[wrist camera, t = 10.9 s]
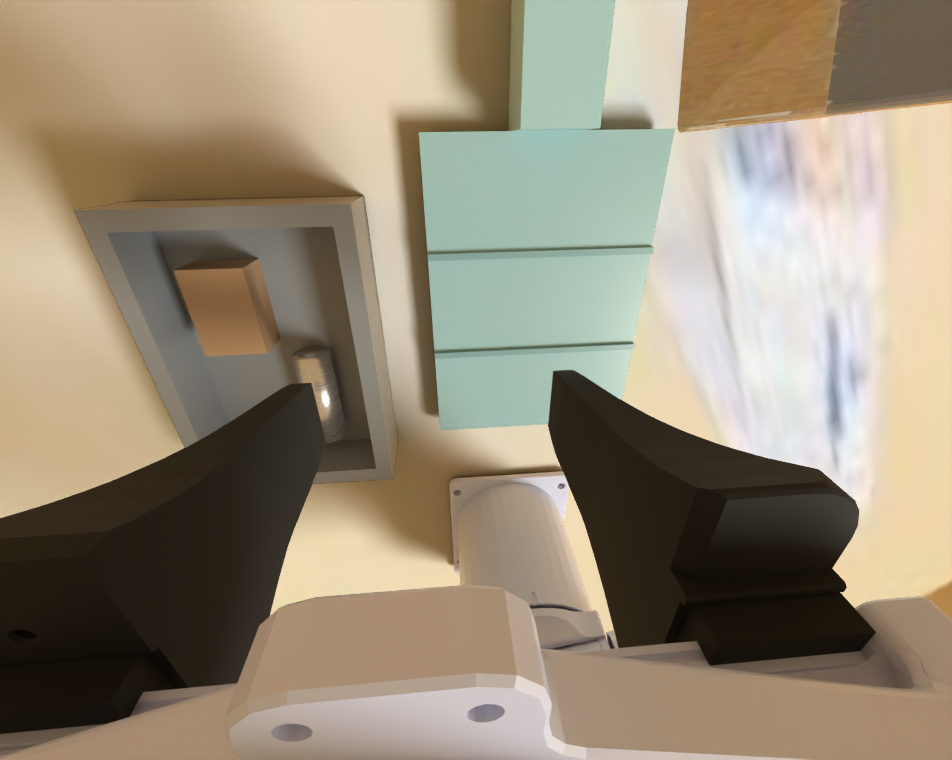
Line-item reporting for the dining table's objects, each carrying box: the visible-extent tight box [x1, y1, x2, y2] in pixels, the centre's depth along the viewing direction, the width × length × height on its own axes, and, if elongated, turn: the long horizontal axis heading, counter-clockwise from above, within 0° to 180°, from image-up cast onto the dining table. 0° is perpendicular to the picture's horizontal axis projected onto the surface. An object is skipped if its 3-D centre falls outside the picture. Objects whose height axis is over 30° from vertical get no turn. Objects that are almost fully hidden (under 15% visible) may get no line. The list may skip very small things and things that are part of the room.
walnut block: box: [173, 258, 280, 356], centre depth 19 cm, size 4×3×2 cm
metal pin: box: [292, 346, 347, 444], centre depth 22 cm, size 5×2×2 cm, turn 1°
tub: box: [74, 196, 398, 484], centre depth 20 cm, size 14×10×3 cm
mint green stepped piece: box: [419, 0, 675, 430], centre depth 19 cm, size 20×11×3 cm, turn 1°
